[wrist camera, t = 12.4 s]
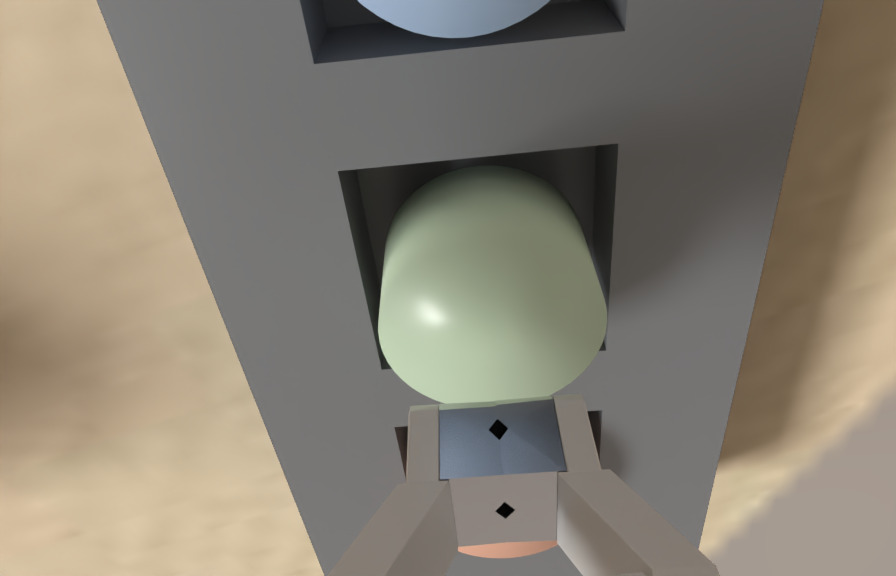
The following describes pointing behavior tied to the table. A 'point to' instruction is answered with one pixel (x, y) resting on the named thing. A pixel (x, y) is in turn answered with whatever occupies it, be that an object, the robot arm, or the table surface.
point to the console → (460, 146)
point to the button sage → (489, 289)
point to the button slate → (453, 15)
